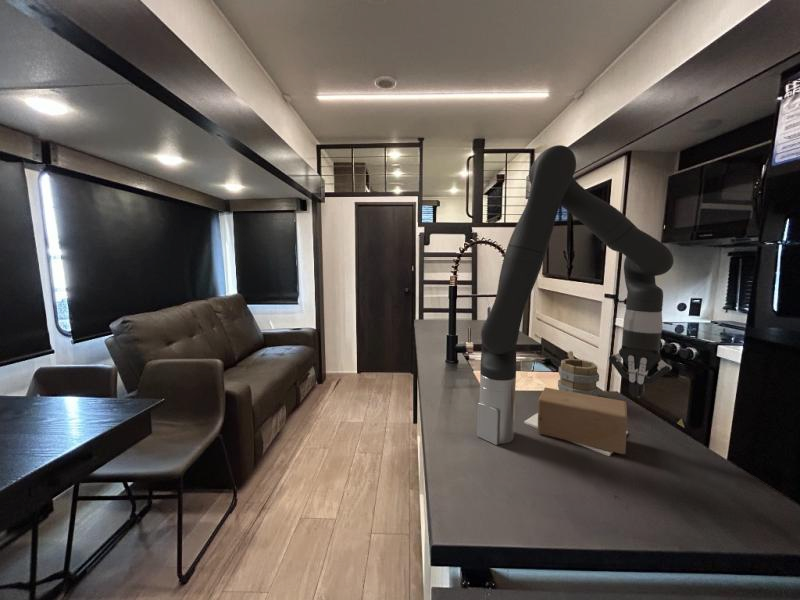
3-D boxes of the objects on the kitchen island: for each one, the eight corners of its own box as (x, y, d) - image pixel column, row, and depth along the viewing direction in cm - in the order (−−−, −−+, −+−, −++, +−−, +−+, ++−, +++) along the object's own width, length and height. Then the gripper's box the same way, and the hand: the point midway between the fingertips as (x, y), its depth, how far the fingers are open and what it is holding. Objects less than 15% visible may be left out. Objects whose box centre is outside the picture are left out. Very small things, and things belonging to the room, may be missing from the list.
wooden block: (627, 416, 77) (537, 398, 88) (625, 455, 78) (537, 433, 89) (626, 400, 85) (544, 386, 96) (624, 436, 86) (543, 418, 97)
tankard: (602, 413, 101) (605, 367, 100) (558, 408, 105) (560, 363, 104) (588, 390, 120) (590, 351, 118) (551, 386, 124) (553, 348, 123)
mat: (609, 456, 79) (609, 454, 79) (524, 423, 95) (524, 421, 95) (627, 433, 89) (627, 431, 89) (548, 407, 106) (548, 405, 106)
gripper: (605, 326, 81) (601, 392, 83) (673, 335, 71) (666, 410, 73) (615, 323, 86) (610, 385, 88) (680, 330, 76) (673, 400, 78)
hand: (636, 396), depth 80 cm, fingers closed
